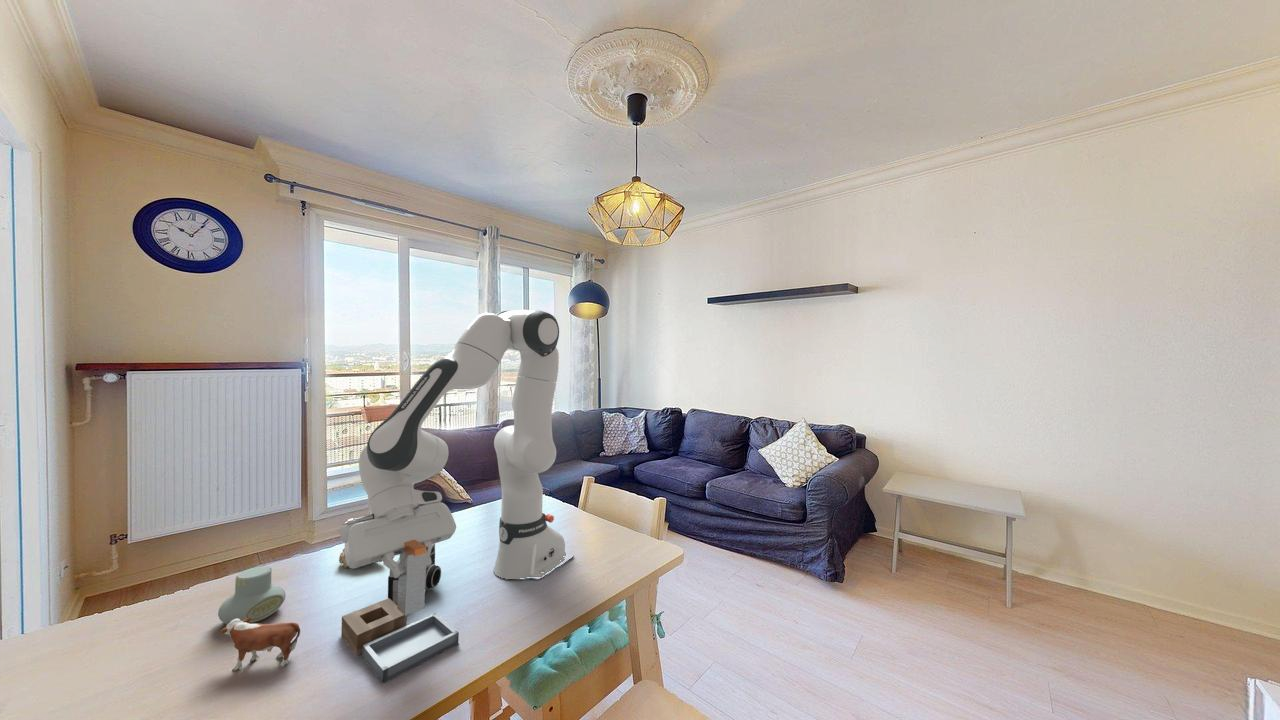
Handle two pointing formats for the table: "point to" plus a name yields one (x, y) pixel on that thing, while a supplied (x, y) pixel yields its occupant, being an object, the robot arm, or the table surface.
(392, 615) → the hitch block
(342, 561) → the mineral specimen
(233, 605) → the air freshener
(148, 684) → the table surface
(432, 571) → the camera
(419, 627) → the tray
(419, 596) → the orange-topped grey block
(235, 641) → the bull figurine
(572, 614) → the table surface
